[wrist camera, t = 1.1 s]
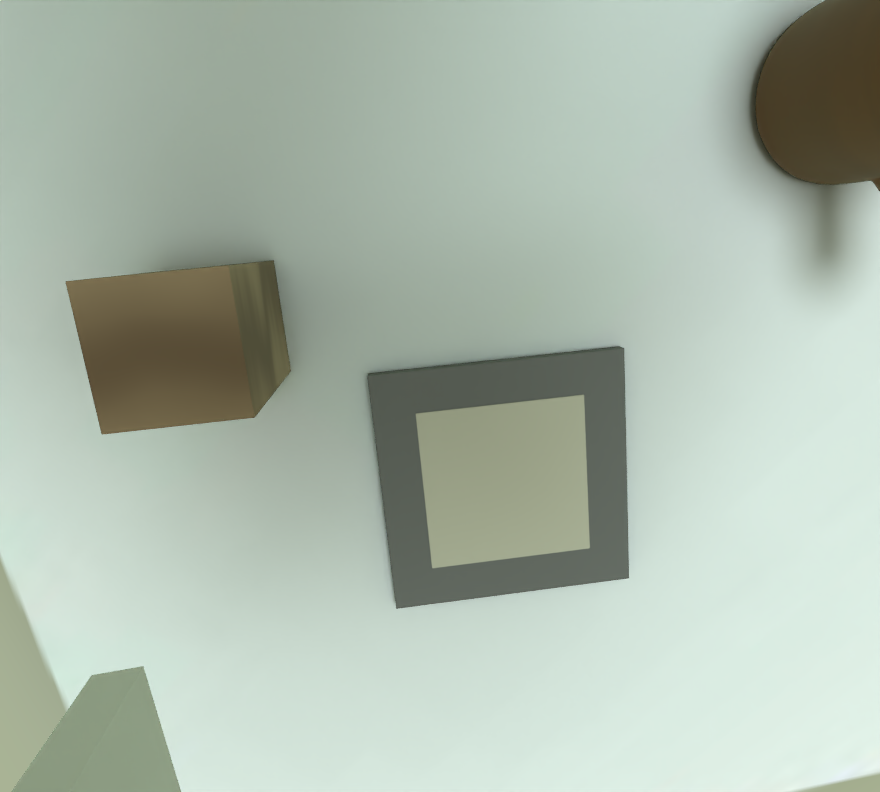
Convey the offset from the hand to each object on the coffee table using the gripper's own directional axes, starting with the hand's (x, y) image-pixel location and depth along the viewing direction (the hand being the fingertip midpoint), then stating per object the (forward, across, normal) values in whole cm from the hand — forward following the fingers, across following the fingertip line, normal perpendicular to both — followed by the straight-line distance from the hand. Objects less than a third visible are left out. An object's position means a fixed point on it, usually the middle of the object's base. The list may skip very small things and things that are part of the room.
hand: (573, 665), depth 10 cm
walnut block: (+20, -10, +4) cm, 23 cm away
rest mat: (+20, +2, -5) cm, 21 cm away
